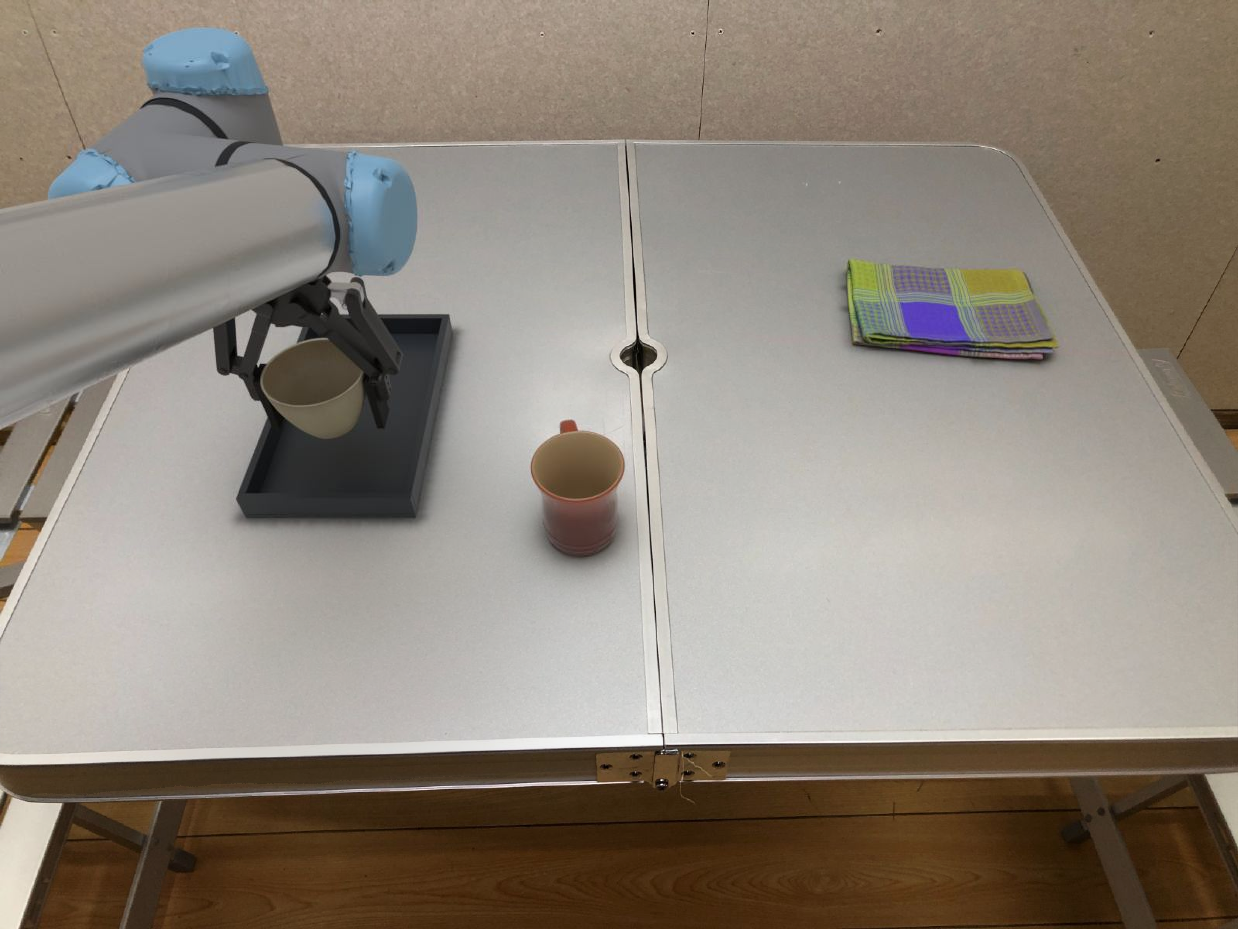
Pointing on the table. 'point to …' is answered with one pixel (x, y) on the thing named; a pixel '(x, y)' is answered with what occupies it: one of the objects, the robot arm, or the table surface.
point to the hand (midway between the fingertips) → (331, 419)
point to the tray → (358, 442)
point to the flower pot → (315, 388)
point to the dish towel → (947, 311)
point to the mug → (578, 488)
